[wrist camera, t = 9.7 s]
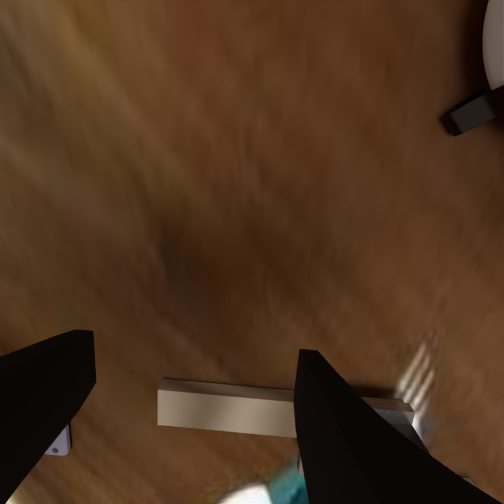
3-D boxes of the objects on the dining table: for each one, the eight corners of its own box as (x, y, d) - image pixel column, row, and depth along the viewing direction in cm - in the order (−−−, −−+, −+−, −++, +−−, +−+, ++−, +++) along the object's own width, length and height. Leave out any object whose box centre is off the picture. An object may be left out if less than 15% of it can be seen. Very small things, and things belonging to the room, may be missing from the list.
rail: (163, 412, 22) (157, 424, 21) (163, 378, 21) (157, 389, 20) (395, 433, 22) (403, 447, 21) (402, 400, 21) (411, 412, 20)
